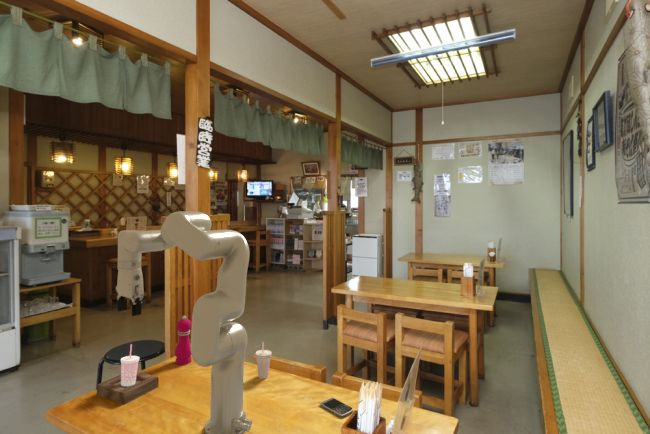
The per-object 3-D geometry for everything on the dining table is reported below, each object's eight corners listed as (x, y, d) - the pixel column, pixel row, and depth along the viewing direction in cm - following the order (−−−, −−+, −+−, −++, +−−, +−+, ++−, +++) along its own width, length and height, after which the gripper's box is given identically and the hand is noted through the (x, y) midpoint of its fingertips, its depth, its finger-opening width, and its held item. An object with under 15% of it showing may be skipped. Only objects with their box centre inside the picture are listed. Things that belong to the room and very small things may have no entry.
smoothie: (251, 379, 148) (252, 343, 148) (259, 372, 154) (260, 338, 154) (266, 381, 146) (267, 345, 146) (273, 374, 152) (274, 340, 152)
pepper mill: (175, 359, 165) (175, 313, 165) (192, 357, 167) (193, 312, 167) (173, 366, 158) (174, 318, 158) (192, 364, 161) (192, 317, 160)
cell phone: (341, 420, 122) (342, 415, 122) (318, 406, 130) (318, 402, 130) (354, 413, 126) (354, 408, 126) (331, 400, 134) (331, 396, 134)
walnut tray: (158, 388, 140) (158, 377, 140) (124, 406, 127) (124, 393, 127) (131, 380, 146) (131, 369, 146) (96, 396, 133) (96, 384, 133)
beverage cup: (141, 382, 139) (144, 343, 139) (128, 388, 133) (131, 347, 133) (128, 379, 141) (131, 340, 141) (114, 385, 135) (117, 345, 135)
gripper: (153, 266, 134) (152, 314, 134) (127, 261, 144) (127, 306, 144) (132, 268, 128) (131, 319, 128) (106, 263, 138) (106, 310, 138)
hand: (129, 312), depth 136 cm, fingers open, 9 cm apart
